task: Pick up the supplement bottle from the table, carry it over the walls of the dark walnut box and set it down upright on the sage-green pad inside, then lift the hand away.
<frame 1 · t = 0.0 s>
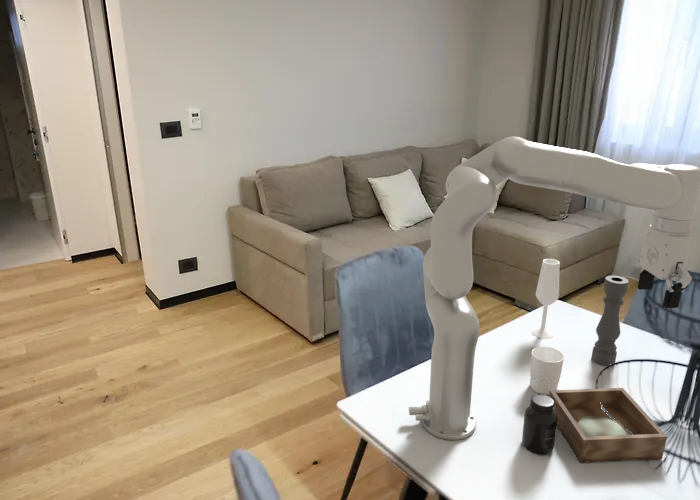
hand: (656, 297, 121), 31 cm above the table, tool pointing down, fingers open, 9 cm apart
champagne flute: (542, 333, 171), on the table
supplement bottle: (537, 446, 122), on the table
white cup: (543, 388, 143), on the table
candle holder: (603, 361, 156), on the table
walnut box: (600, 434, 126), on the table
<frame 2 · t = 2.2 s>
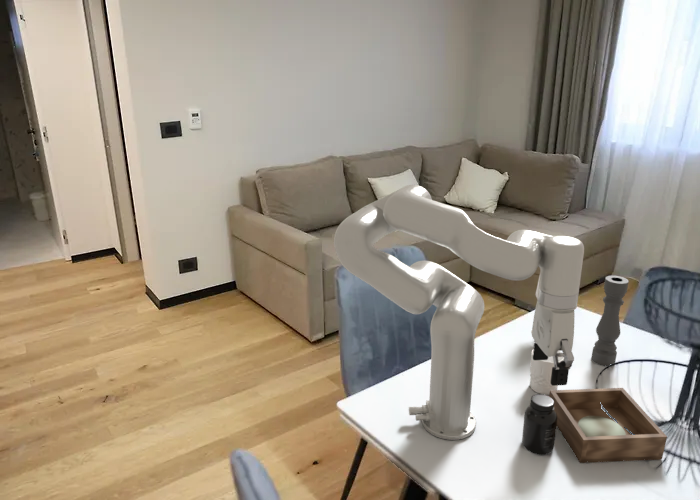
hand: (549, 371, 115), 19 cm above the table, tool pointing down, fingers open, 9 cm apart
nothing on the table moved.
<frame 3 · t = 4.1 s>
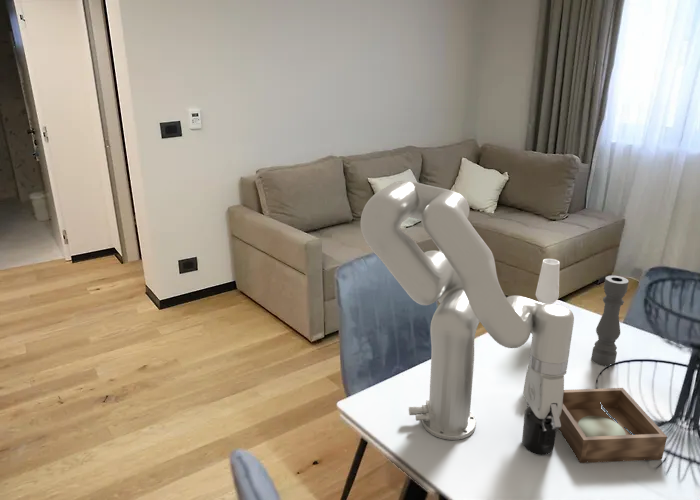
hand: (539, 431, 121), 4 cm above the table, tool pointing down, fingers open, 6 cm apart
supplement bottle: (537, 446, 122), on the table, touching gripper
everything else where it was.
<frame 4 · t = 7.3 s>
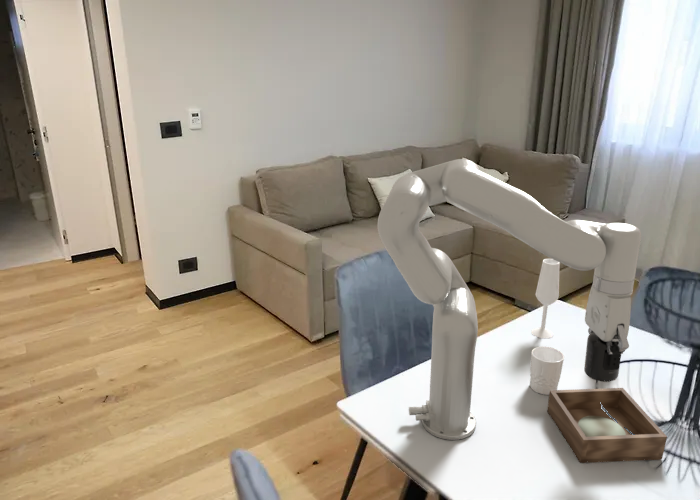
hand: (602, 359, 118), 20 cm above the table, tool pointing down, fingers closed on supplement bottle, 6 cm apart
supplement bottle: (600, 374, 119), point 16 cm above the table, touching gripper
everything else where it was.
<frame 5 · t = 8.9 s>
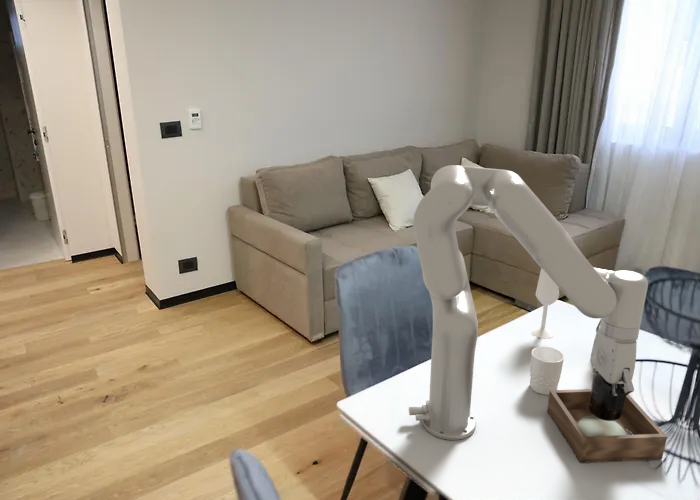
hand: (606, 398, 122), 10 cm above the table, tool pointing down, fingers closed on supplement bottle, 6 cm apart
supplement bottle: (604, 413, 124), point 6 cm above the table, touching gripper
everything else where it was.
when the fingers open (6 cm above the table, at t = 10.1 s): supplement bottle drops 1 cm, resting on walnut box.
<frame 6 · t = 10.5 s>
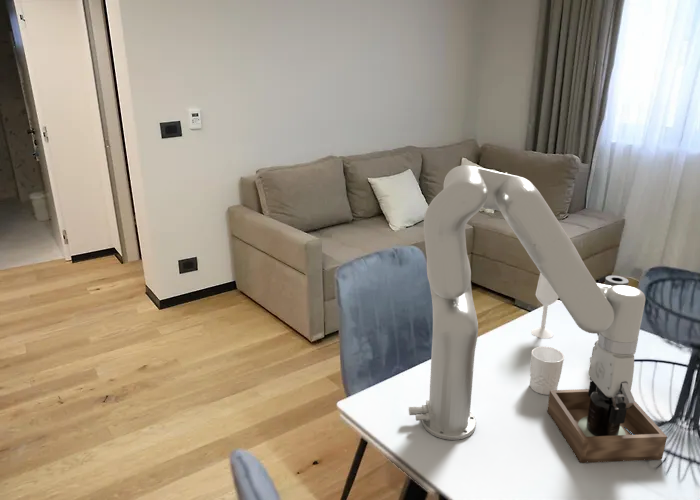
hand: (605, 409, 123), 7 cm above the table, tool pointing down, fingers open, 9 cm apart
supplement bottle: (601, 431, 125), point 1 cm above the table, touching walnut box
everything else where it was.
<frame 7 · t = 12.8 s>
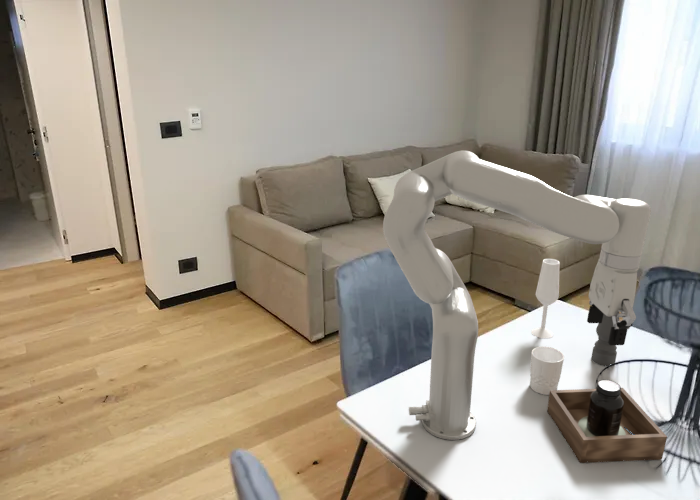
hand: (604, 333, 118), 25 cm above the table, tool pointing down, fingers open, 9 cm apart
nothing on the table moved.
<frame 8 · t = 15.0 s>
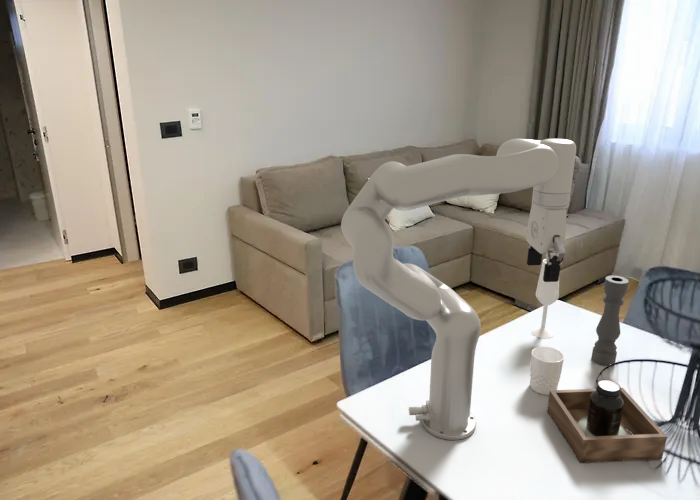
hand: (541, 272, 122), 36 cm above the table, tool pointing down, fingers open, 9 cm apart
nothing on the table moved.
at the end: supplement bottle inside the target area on the walnut box (0.4 cm from its centre), point 1.1 cm above the walnut box's base; supplement bottle tilted 0°; the gripper is holding nothing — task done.
